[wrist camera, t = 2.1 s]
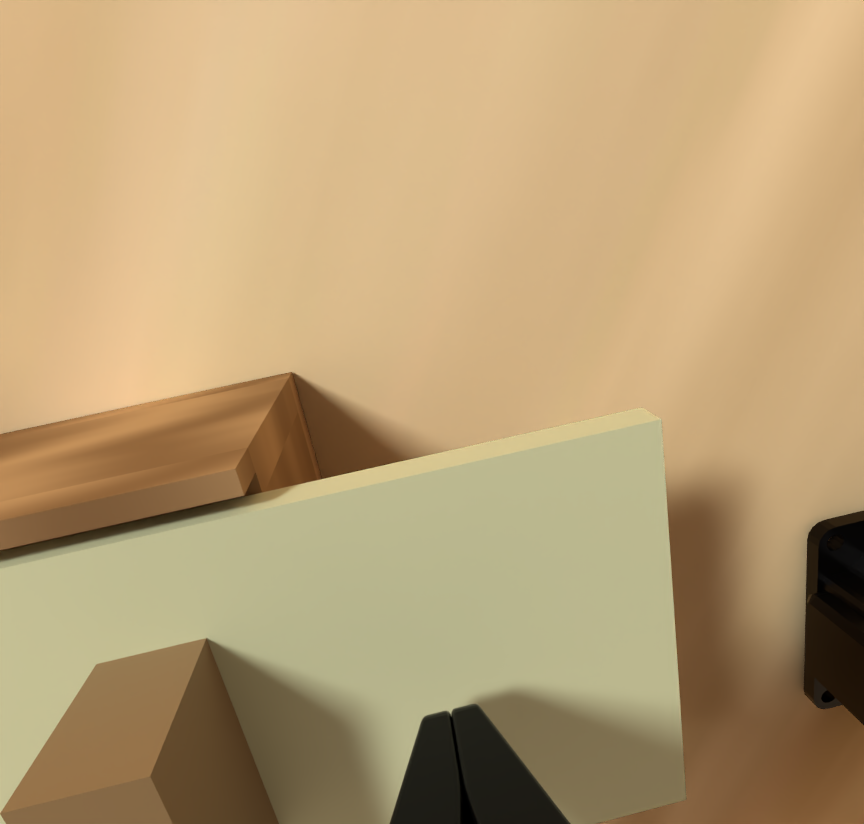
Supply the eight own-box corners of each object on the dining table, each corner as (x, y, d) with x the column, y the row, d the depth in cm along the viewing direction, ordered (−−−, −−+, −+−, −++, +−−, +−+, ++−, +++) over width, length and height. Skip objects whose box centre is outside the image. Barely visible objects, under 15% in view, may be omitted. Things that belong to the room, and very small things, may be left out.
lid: (641, 407, 8) (768, 482, 6) (669, 770, 11) (769, 943, 8) (-389, 639, 8) (-793, 848, 5) (-118, 976, 10) (-294, 1241, 7)
